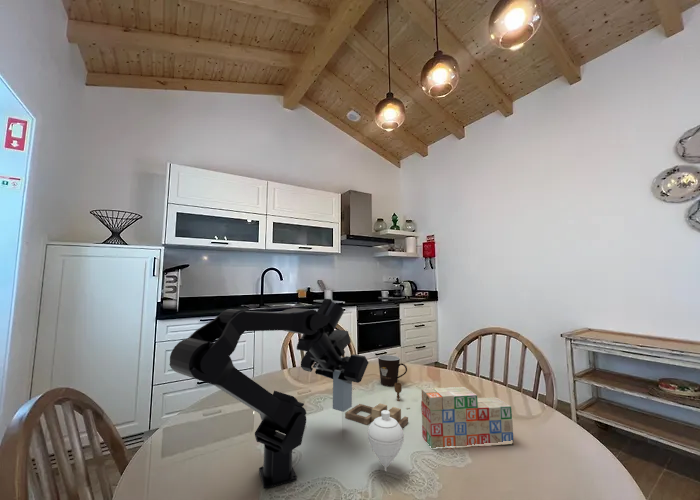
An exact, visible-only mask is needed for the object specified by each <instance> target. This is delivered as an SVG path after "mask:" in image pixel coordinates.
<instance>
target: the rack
mask: <svg viewBox="0 0 700 500" xmlns="http://www.w3.org/2000/svg"><path fill="white" fill-rule="evenodd" d="M372 408H374V407H373V406H370V405H365V404H362V403H359V404H357V405H355V406H353V407H351V409H350V408H349V409H348V411H347V410H346V412H345V413H344V414H345V416H344V417H345V419H347V420H351V421H352V422H353V421H354V422H358V423H360V424H362V425H365V426H368V425H370V424H371V420H372ZM359 412H365V413H367V414H369V415H367V416H363V415H360V414H358V413H359ZM398 423H399V425H400V426H401V428H402V429H403V428H404V427H406V425H407V424H409V417H408V416H406V415H404V416H403V417H401V420H400V421H399V422H398Z"/></svg>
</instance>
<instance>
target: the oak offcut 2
mask: <svg viewBox="0 0 700 500" xmlns="http://www.w3.org/2000/svg"><path fill="white" fill-rule="evenodd" d="M388 411H389V412H390V417H391V418H394V419H395V420H396V421H397V422H399V421H400V420H401V419H402V409H401V408H399V407H395V406H392V407H391V408H389V410H388Z"/></svg>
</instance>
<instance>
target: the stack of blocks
mask: <svg viewBox="0 0 700 500" xmlns="http://www.w3.org/2000/svg"><path fill="white" fill-rule="evenodd" d="M420 407H421V427H422V428H421V431H422V432H421V433H422V434H421V435H422V439H423V440H424V441H425V443H426V442H427V443H428V444H429V445H428V444H427V443H426V444H427V445H428V446H431V448H436V447H445V446H467V445H472V444H474V445H475V444H484V443H498V442H503V441H511V440H513V441H514V425H513V410H512V406H511V405H510V404H508V403H507V402H505V401H503V400H502V399H500V398H498V397H478V395H477V394H476V393H474V392H473V391H472V390H471V389H468V388H467V387H466V386H457V387H456V386H455V387H454V386H453V387H452V386H451V387H434V388H432V387H428V388H427V387H426V388H425V387H424V388H421V405H420ZM431 448H430V449H431Z"/></svg>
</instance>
